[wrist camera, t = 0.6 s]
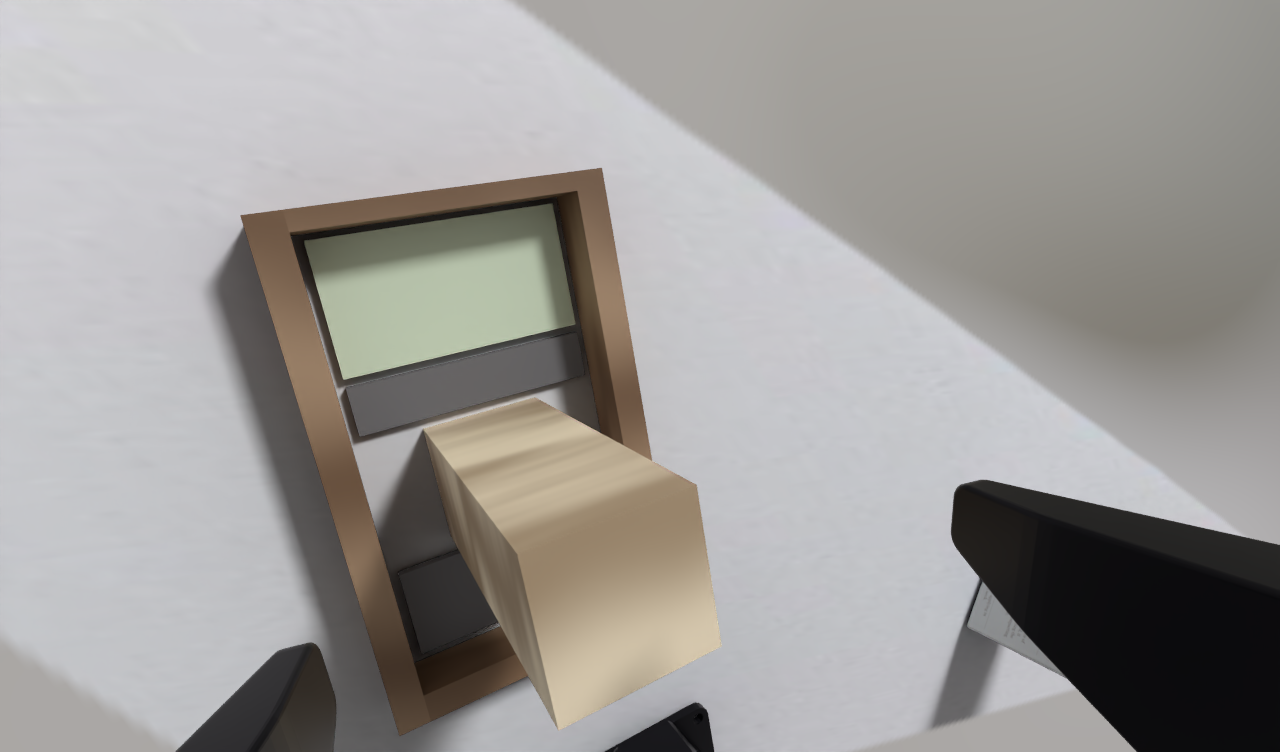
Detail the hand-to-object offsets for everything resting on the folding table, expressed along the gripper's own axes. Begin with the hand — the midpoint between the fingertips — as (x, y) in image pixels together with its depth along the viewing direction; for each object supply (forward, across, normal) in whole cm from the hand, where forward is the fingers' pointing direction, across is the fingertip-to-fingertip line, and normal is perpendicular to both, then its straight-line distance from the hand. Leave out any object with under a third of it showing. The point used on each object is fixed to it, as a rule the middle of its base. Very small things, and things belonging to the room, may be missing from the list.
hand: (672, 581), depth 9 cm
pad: (+15, +3, -2) cm, 15 cm away
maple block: (+14, +2, +5) cm, 15 cm away
